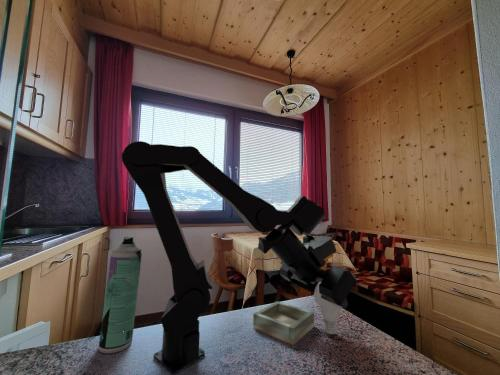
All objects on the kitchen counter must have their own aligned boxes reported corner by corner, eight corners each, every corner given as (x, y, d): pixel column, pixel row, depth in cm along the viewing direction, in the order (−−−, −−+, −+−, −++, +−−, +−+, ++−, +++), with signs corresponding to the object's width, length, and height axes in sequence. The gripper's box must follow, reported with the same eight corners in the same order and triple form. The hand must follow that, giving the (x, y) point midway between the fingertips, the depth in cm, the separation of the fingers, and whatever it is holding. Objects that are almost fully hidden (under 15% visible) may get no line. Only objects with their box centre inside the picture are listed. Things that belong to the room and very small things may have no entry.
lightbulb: (328, 344, 43) (327, 285, 45) (309, 329, 49) (308, 277, 50) (353, 338, 45) (351, 283, 47) (331, 324, 51) (330, 275, 53)
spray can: (132, 335, 45) (143, 236, 48) (130, 349, 40) (143, 238, 44) (101, 340, 43) (115, 236, 46) (95, 356, 38) (111, 238, 41)
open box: (253, 328, 49) (253, 313, 49) (277, 313, 57) (277, 301, 57) (293, 345, 43) (293, 328, 43) (314, 326, 50) (314, 312, 51)
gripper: (346, 225, 40) (391, 282, 43) (289, 222, 57) (324, 263, 60) (312, 274, 36) (364, 333, 39) (262, 255, 53) (301, 297, 56)
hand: (334, 300), depth 49 cm, fingers closed on lightbulb, 6 cm apart
